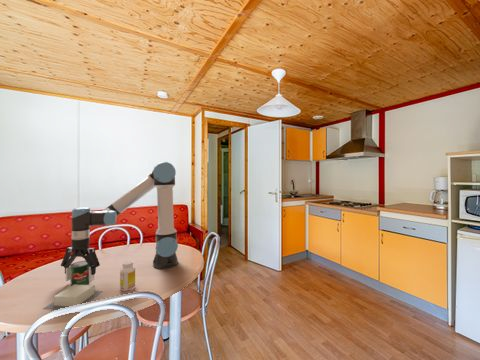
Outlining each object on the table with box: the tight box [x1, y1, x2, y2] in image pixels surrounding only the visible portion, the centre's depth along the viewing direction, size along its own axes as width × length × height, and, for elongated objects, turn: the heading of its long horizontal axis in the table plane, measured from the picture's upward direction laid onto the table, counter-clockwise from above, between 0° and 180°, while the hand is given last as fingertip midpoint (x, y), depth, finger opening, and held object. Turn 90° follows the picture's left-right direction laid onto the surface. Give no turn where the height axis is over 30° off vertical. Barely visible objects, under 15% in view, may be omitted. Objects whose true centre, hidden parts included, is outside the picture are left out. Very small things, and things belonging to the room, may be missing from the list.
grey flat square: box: [42, 290, 104, 311], centre depth 93 cm, size 15×15×1 cm
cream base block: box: [53, 284, 95, 306], centre depth 93 cm, size 10×10×4 cm
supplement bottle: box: [119, 260, 136, 292], centre depth 104 cm, size 7×7×13 cm
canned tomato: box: [69, 260, 90, 287], centre depth 107 cm, size 8×8×11 cm
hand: (80, 280), depth 107 cm, fingers open, 12 cm apart
